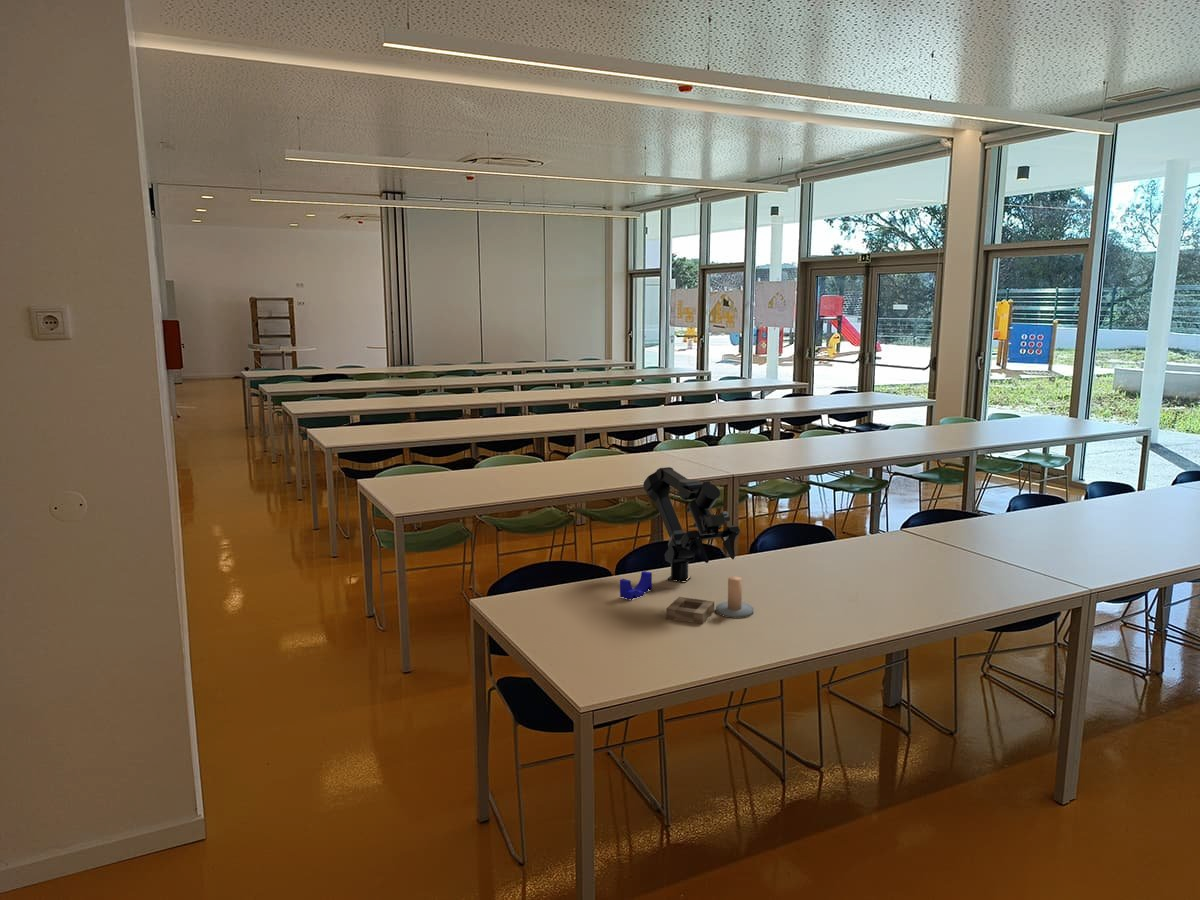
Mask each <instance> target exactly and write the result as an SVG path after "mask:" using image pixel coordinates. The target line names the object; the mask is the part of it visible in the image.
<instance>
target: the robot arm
mask: <svg viewBox="0 0 1200 900" xmlns="http://www.w3.org/2000/svg"><path fill="white" fill-rule="evenodd" d="M671 487H672V488H674V489H675V490H677V491H678V492H677V494H678V496H679V498H681V499H682V500H683V501H691V502H689V503H688V505H687V508H686V513H690V514H691V516H692V518H693V521H694V523H693V528H696V529H697V530H694V529H693V530H687V531H686V532H685V531H684V530H683V527H682V525H681V523H680V521H679V518H678V515H677V513H676V511H675V509H674V506H673V503H672V500H671V499H670V491H671ZM643 490H644V492H645V493H646V495H647V496H648V498H649V499H650V500H652V501H654V502H655V504H656V507H657V509H658V512H659V514H660V517H661V520H662V521H663V525H664V527H665V529H666V531H667V534H668V537H669V540H668V543H667V547H668V549H667V550H666V551H665V553H664V561H665V562H667V563H669V564H670V576H669V577H668V578H667V579H668V580H667V581H670V580H677V581H687V580H686V579H687V578H688V575H689V562H694V561H695V557H696V556H698V557H699V559H701V560H702V561H703V562H704V563H706V564H708V563H709V562H710V561H709V558H708V554H707V553H706V550H705V548H704V545H703V541H705V540H707V541H708V540H715V539H721V541H722V545H723V547H724V549H725V550H726V552H727V554H728V555H729V557H730V558H731V560H735V558H736V556H735V540H736V539H737V538H738V536H739V535H740V534H741V533H742V531H741V529H740V526H738V525H735V524H734V525H727V523H729V522H730V520H731V518H730V514H729V512H728V510H725V511H721V512H720V513H719V514H714V513H712V511H710V508H712V507H713V505H715V503H716V502H717V500H718V499H719V498H720V495H721V490H720V489H719V488H718V487H717V486H716V485H714V484H713V483H711V481H710V480H707V481H705V480H704V481H703V482H702V481H701V480H698V479H690V478H687V477H685V476H684V475H683V474H680V473H679V472H677V471H676V470H674V468H673V467H670V466H668V467H667V466H666V467H660V468H658V469H656V471H655V472H652V473H651V474H650V475H648V476H647V477H646V478H645V480H644V482H643ZM724 525H727V526H726V527H724V529H723V530H722V531H721V529H722V526H724ZM719 530H720V531H719ZM677 581H676V582H677ZM687 582H688V581H687Z"/></svg>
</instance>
